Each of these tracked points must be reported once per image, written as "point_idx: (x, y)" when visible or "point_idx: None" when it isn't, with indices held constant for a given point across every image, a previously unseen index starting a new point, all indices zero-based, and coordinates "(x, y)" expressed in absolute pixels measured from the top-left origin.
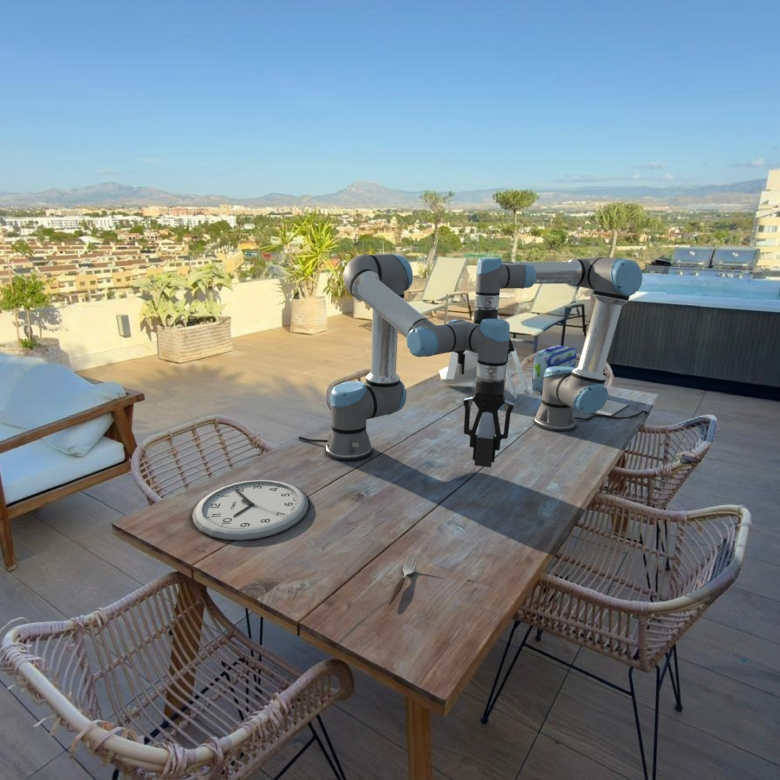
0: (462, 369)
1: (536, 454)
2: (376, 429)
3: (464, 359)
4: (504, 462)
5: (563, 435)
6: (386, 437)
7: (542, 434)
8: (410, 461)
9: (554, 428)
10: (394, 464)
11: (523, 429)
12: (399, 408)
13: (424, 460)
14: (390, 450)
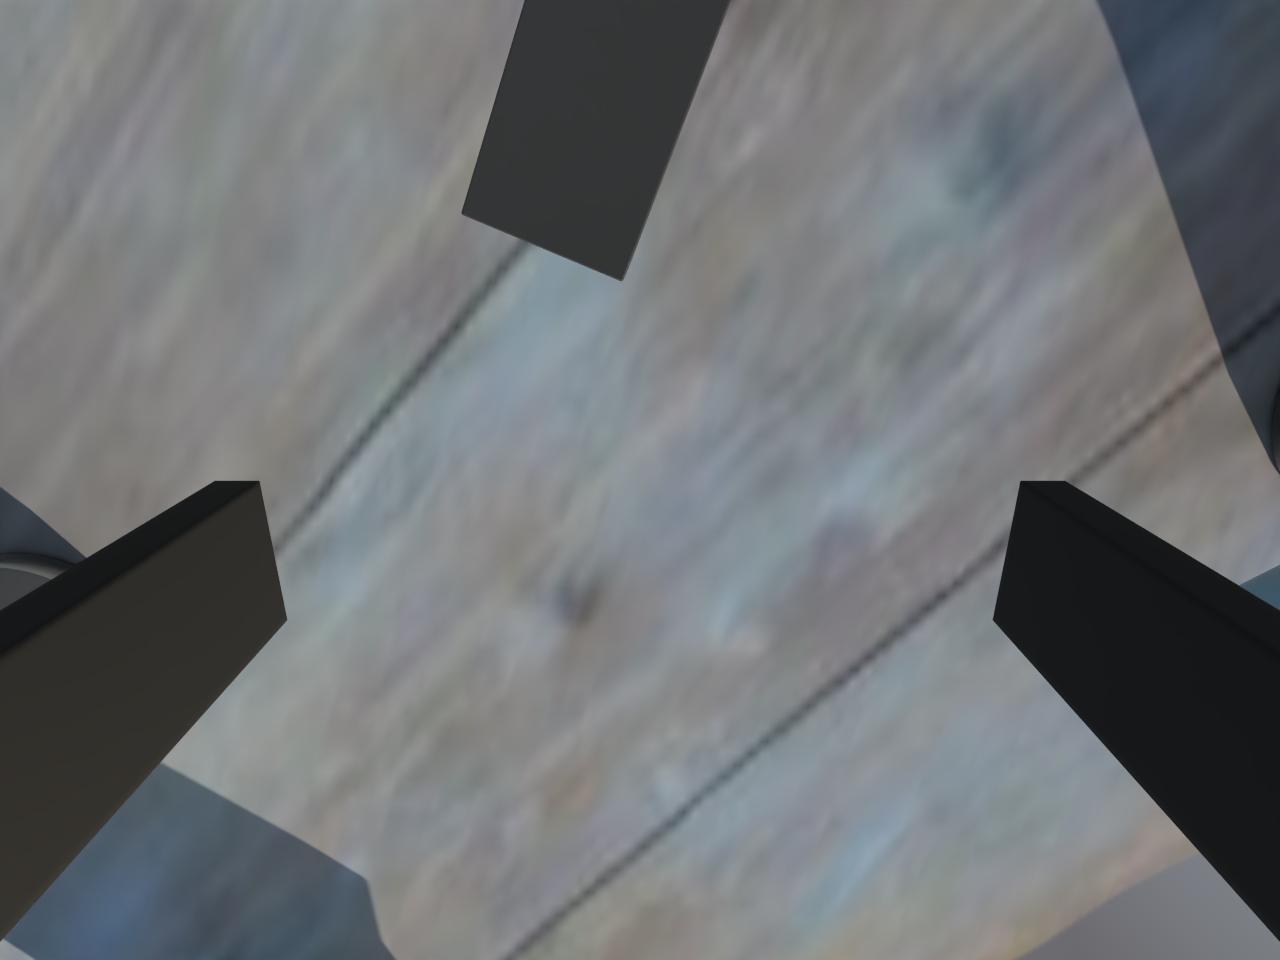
0: (1116, 520)
1: (266, 224)
2: None
3: (1278, 651)
4: None
5: (27, 495)
6: None
7: None
8: (1106, 207)
9: (60, 570)
10: (1222, 172)
11: None
12: (1273, 572)
13: (1014, 212)
14: (1160, 386)
